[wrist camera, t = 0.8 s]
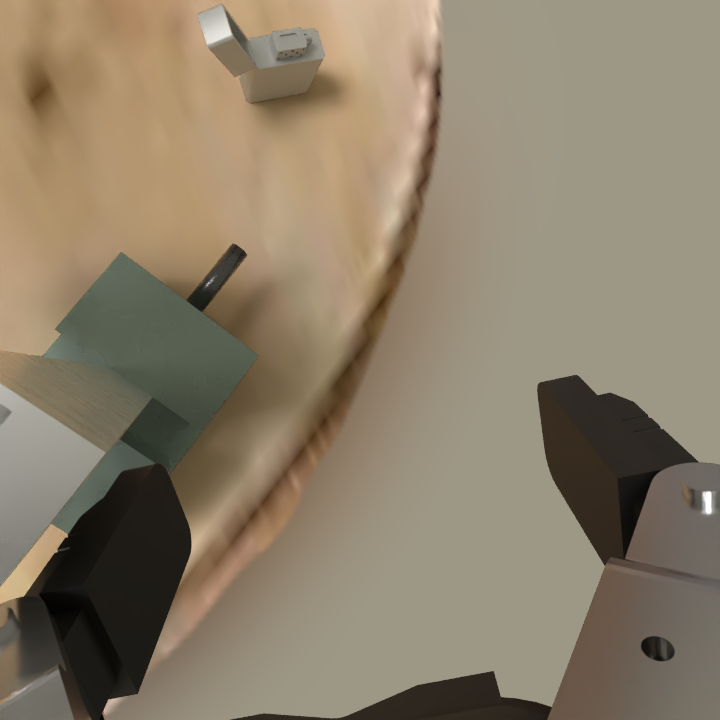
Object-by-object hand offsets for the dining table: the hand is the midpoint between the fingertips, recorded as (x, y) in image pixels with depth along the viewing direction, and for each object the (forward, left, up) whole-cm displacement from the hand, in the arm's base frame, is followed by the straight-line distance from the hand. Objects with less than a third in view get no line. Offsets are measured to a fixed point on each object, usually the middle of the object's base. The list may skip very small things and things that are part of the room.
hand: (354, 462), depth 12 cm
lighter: (+6, +19, -25) cm, 32 cm away
